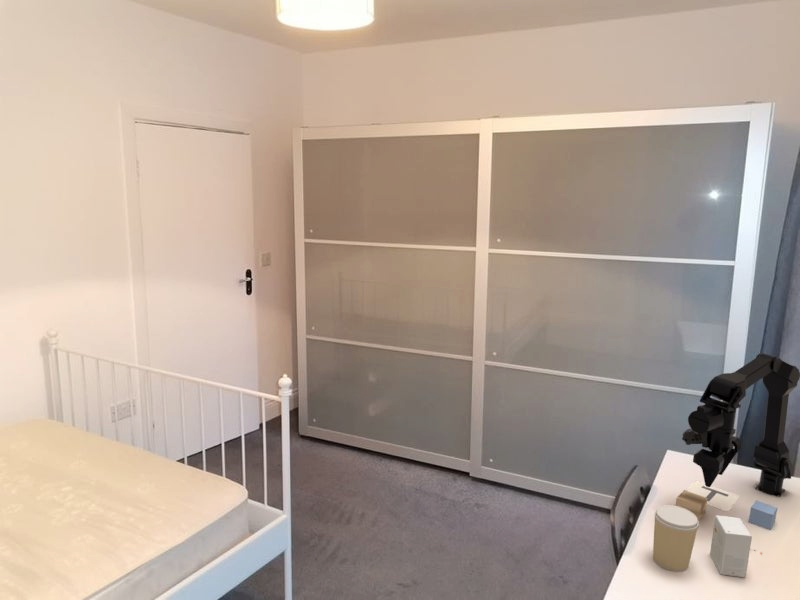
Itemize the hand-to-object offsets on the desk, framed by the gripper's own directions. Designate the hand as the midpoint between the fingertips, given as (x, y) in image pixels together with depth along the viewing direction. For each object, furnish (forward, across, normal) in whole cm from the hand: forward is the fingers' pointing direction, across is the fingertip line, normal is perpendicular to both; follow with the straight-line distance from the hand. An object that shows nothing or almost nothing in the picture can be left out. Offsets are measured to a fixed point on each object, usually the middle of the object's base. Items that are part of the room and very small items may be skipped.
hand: (713, 480), depth 161 cm
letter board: (+11, -11, -3) cm, 16 cm away
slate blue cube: (+11, -6, +11) cm, 17 cm away
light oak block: (+11, +3, -4) cm, 12 cm away
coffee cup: (+10, +28, 0) cm, 30 cm away
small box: (+10, +20, +10) cm, 25 cm away
